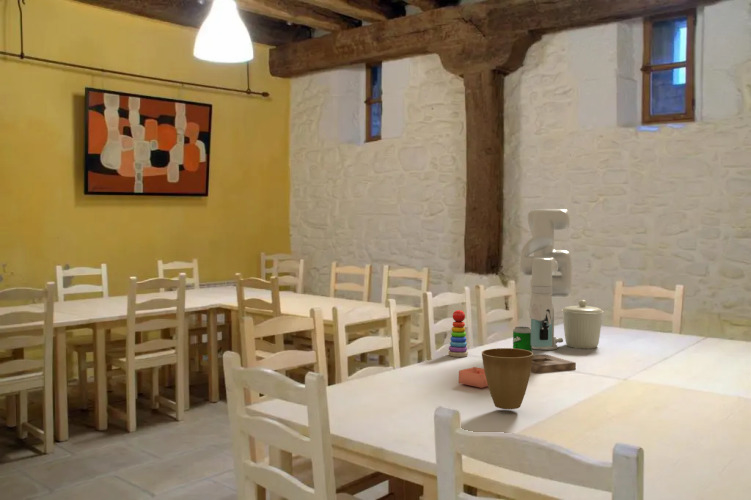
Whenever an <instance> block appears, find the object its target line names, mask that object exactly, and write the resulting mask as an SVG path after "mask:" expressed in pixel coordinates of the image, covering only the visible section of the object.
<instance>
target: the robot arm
mask: <svg viewBox="0 0 751 500" xmlns="http://www.w3.org/2000/svg"><path fill="white" fill-rule="evenodd" d="M527 223H528V227H529V230H530V232H531V234H532V237H531V238H530V239H528V240H527V241H526V242H525V243H524V245H523V246H522V248H521V251H520V255H519V270H520V273H521V275H523V276H525V277H526V276H528V277H529V276H530V277H531V278H530V281H529V289H530V299H529V300H530V301H529V316H528V317H529V319H530V320H531V319H534V320H537V321H540V322H541V329H540V340H548V329H549V325H550V324H551V323H552V346H545V347H534V346H532V350H542V351H552V350H553V351H554V350H557V349H558V348H559V347H558V343H559V344H560V343H563V342H564V339H563V338H562V337H558V338H557V336H556V337H555V306H554V304H553V300H552V299H553V298H569V297H570V296H571V294H572V290H573V283H572V282H573V261H572V260H573V259H572V258H573V257H572V254H571V253H570V252H569V251H568V250H565V249H555V231H556V230H558V231H559V230H562V231H565V230H567V231H568V229H569V228H570V225H571V215H570V212H569V210H568V209H566V208H537V209H532V210H530V211H528V213H527ZM531 254H533V256H532V255H531ZM530 255H531V256H530ZM556 273H560V274H561V275H559V274H556ZM545 319H546V321H543V320H545ZM551 320H552V322H551ZM543 323H544V325H543Z"/></svg>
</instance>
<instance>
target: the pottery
mask: <svg viewBox="0 0 751 500" xmlns="http://www.w3.org/2000/svg"><path fill="white" fill-rule="evenodd" d="M458 384H462V385H467V386H472V387H476V388H481V389H482V388H485V387H488V384H487V380H486V376H485V371H484V367H483V368H482V367H477V366H473V367H470V368H469V367H468V368H465V369H461V370H459V371H458Z"/></svg>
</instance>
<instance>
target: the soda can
mask: <svg viewBox="0 0 751 500" xmlns="http://www.w3.org/2000/svg"><path fill="white" fill-rule="evenodd" d="M512 332H513V333H512V348H514V349H523V350H528V351H531V352H532V350H533V349H532V346H531V327H528V326H515V327H514V328H513V330H512Z"/></svg>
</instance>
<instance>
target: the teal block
mask: <svg viewBox="0 0 751 500" xmlns="http://www.w3.org/2000/svg"><path fill="white" fill-rule="evenodd" d="M543 321H546V319H545V320H543ZM551 322H552V320H551ZM543 325H544V323H543ZM530 329H531V346H534V347H545V346H552V323H551V324H550V325H549V329H548V340H540V329H541V322H540V321H537V320H534V319H530Z"/></svg>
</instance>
